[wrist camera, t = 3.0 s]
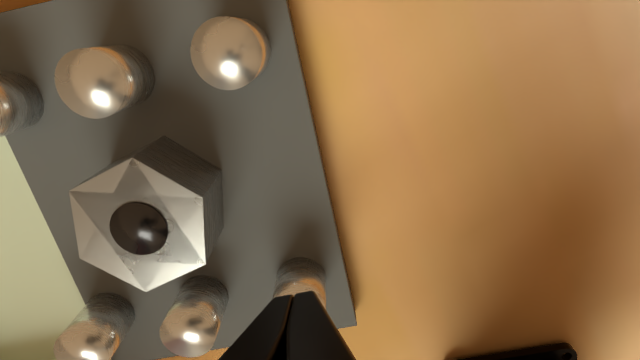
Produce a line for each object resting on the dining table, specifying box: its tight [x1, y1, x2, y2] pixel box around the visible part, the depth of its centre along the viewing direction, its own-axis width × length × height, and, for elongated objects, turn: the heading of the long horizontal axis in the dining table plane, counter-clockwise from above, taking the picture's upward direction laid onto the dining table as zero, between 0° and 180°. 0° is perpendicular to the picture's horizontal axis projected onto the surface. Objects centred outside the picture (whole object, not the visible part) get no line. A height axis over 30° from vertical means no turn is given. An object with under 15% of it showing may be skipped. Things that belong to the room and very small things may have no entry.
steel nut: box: [69, 135, 224, 292], centre depth 16 cm, size 5×4×3 cm
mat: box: [0, 0, 357, 360], centre depth 18 cm, size 12×16×1 cm
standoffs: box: [0, 16, 326, 360], centre depth 16 cm, size 11×12×3 cm
